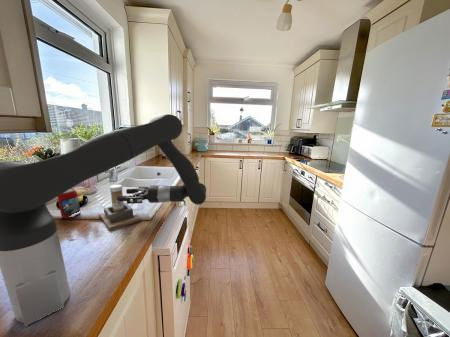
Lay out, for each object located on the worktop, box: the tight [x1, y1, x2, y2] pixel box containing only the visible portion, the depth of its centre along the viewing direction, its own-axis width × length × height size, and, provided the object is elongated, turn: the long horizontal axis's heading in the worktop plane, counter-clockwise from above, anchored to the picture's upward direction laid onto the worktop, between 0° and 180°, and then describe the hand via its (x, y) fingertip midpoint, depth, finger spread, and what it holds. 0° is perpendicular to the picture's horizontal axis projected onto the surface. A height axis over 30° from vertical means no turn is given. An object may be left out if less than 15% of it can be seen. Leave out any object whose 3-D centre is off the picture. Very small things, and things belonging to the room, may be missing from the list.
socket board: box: [99, 202, 142, 232], centre depth 83 cm, size 18×12×4 cm, turn 44°
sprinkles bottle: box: [109, 184, 125, 213], centre depth 82 cm, size 5×5×13 cm
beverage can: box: [56, 188, 81, 219], centre depth 84 cm, size 7×7×12 cm
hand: (122, 194), depth 81 cm, fingers open, 8 cm apart
